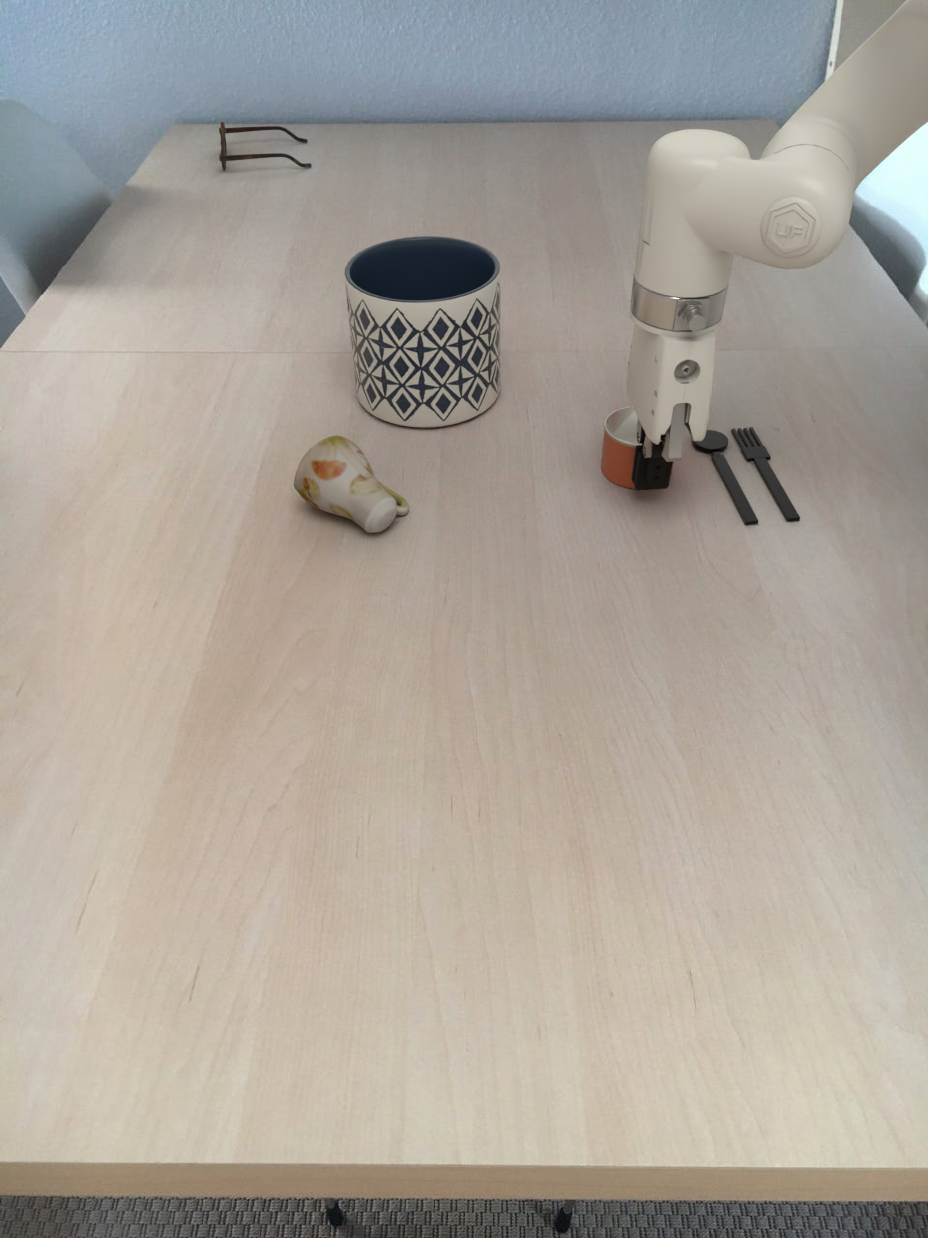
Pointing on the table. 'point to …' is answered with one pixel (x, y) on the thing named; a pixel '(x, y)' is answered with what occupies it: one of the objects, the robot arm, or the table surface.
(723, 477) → the spoon
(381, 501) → the mug
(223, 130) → the eyeglasses
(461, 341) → the planter
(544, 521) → the table surface
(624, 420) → the orange cup
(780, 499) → the fork
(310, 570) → the table surface
